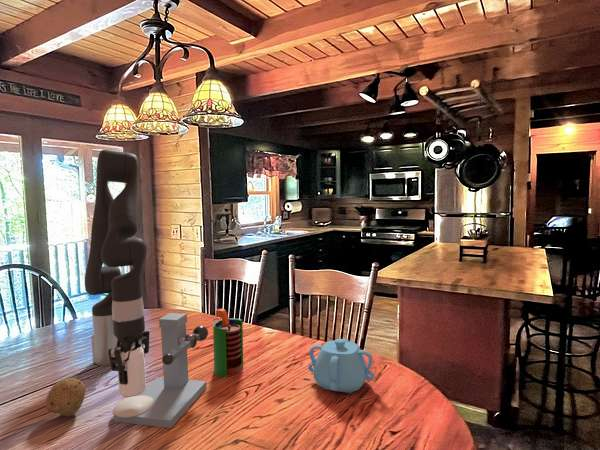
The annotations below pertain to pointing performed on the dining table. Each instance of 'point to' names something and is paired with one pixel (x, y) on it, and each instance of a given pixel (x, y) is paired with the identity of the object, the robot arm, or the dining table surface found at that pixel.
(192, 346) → the lever
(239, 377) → the dining table surface
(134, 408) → the press
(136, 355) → the can
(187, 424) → the dining table surface
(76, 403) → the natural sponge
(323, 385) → the decorative pot
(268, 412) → the dining table surface
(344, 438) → the dining table surface
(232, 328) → the motor
